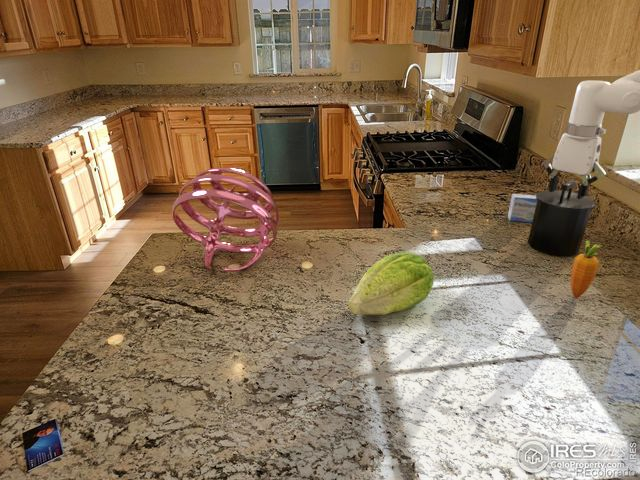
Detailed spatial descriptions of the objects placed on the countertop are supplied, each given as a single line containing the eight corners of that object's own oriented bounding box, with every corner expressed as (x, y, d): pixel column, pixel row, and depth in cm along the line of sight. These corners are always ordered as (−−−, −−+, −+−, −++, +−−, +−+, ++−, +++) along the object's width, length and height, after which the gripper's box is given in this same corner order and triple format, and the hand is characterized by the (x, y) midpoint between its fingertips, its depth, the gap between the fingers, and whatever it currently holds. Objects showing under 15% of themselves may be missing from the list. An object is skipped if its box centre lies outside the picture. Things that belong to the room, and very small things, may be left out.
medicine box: (509, 221, 144) (514, 197, 140) (507, 216, 148) (512, 192, 144) (534, 223, 142) (540, 199, 138) (531, 218, 146) (537, 194, 142)
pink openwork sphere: (229, 231, 91) (255, 137, 105) (132, 242, 102) (167, 155, 116) (286, 285, 113) (302, 202, 126) (201, 289, 124) (224, 212, 137)
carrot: (564, 290, 105) (580, 235, 99) (587, 296, 103) (605, 240, 96) (563, 300, 101) (579, 244, 95) (587, 306, 99) (605, 249, 93)
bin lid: (602, 203, 120) (608, 183, 117) (581, 216, 112) (587, 195, 109) (549, 190, 130) (553, 171, 128) (525, 201, 122) (530, 181, 119)
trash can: (586, 247, 126) (599, 201, 120) (566, 261, 118) (580, 213, 112) (540, 232, 136) (550, 189, 129) (519, 245, 128) (529, 199, 121)
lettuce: (326, 283, 98) (355, 278, 86) (396, 248, 108) (431, 240, 96) (348, 334, 98) (380, 337, 86) (416, 295, 108) (454, 292, 96)
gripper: (625, 133, 108) (605, 199, 116) (555, 124, 120) (541, 184, 128) (614, 138, 104) (594, 206, 112) (543, 127, 116) (529, 189, 124)
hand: (566, 193), depth 120 cm, fingers open, 6 cm apart
